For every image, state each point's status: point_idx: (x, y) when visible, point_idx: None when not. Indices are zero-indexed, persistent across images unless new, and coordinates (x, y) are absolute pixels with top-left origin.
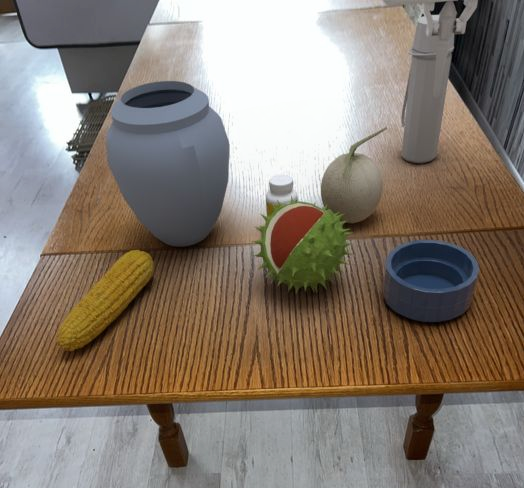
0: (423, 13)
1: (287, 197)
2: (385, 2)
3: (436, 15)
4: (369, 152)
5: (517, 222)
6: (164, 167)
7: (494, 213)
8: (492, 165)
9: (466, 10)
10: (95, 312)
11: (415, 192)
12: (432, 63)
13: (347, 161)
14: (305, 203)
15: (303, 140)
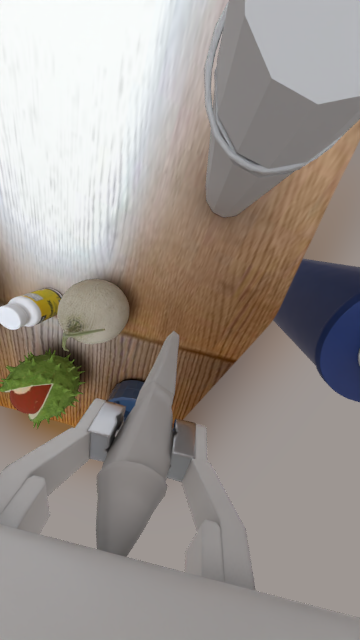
0: (36, 450)
1: (27, 325)
2: None
3: None
4: (172, 143)
5: (239, 355)
6: None
7: (231, 338)
8: (297, 252)
9: (201, 511)
10: None
11: (184, 279)
12: (246, 173)
13: (63, 347)
14: (27, 386)
15: (81, 32)
